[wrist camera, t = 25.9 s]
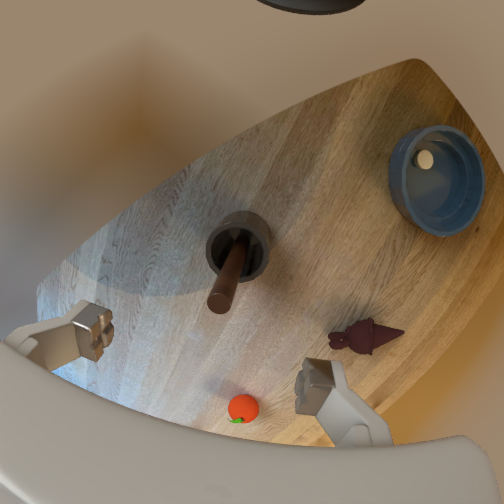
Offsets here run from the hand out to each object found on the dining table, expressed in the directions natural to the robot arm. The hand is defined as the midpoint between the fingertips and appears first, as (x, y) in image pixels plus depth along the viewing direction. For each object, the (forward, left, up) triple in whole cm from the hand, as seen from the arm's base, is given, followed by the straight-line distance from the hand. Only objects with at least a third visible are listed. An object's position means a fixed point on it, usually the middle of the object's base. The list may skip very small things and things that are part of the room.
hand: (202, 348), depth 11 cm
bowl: (+15, +26, -36) cm, 47 cm away
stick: (+3, -6, -35) cm, 36 cm away
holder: (+3, -6, -36) cm, 36 cm away
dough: (+11, +26, -35) cm, 45 cm away
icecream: (+31, 0, -36) cm, 47 cm away
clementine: (+32, -32, -36) cm, 58 cm away
